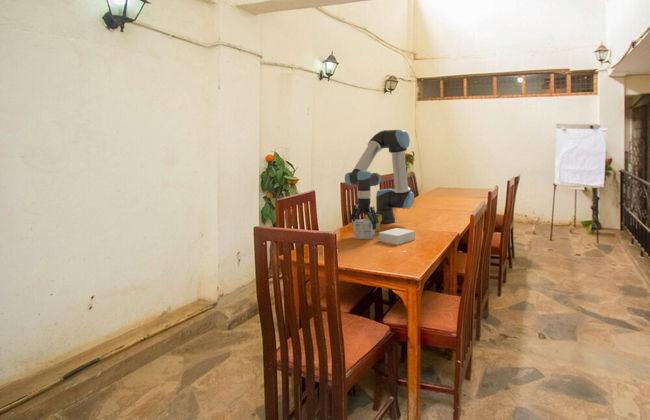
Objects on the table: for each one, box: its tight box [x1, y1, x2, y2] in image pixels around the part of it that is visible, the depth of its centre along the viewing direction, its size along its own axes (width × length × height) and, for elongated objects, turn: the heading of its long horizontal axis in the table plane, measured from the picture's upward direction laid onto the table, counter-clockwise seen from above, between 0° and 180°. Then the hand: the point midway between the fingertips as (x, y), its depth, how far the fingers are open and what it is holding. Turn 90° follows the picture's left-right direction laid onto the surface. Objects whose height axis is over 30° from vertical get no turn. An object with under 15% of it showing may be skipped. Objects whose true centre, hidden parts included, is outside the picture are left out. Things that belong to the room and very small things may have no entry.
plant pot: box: [365, 214, 382, 232], centre depth 257 cm, size 10×10×10 cm
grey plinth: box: [378, 227, 416, 246], centre depth 230 cm, size 13×17×5 cm
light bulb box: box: [354, 218, 374, 240], centre depth 237 cm, size 11×7×11 cm, turn 84°
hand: (364, 233), depth 237 cm, fingers open, 13 cm apart
